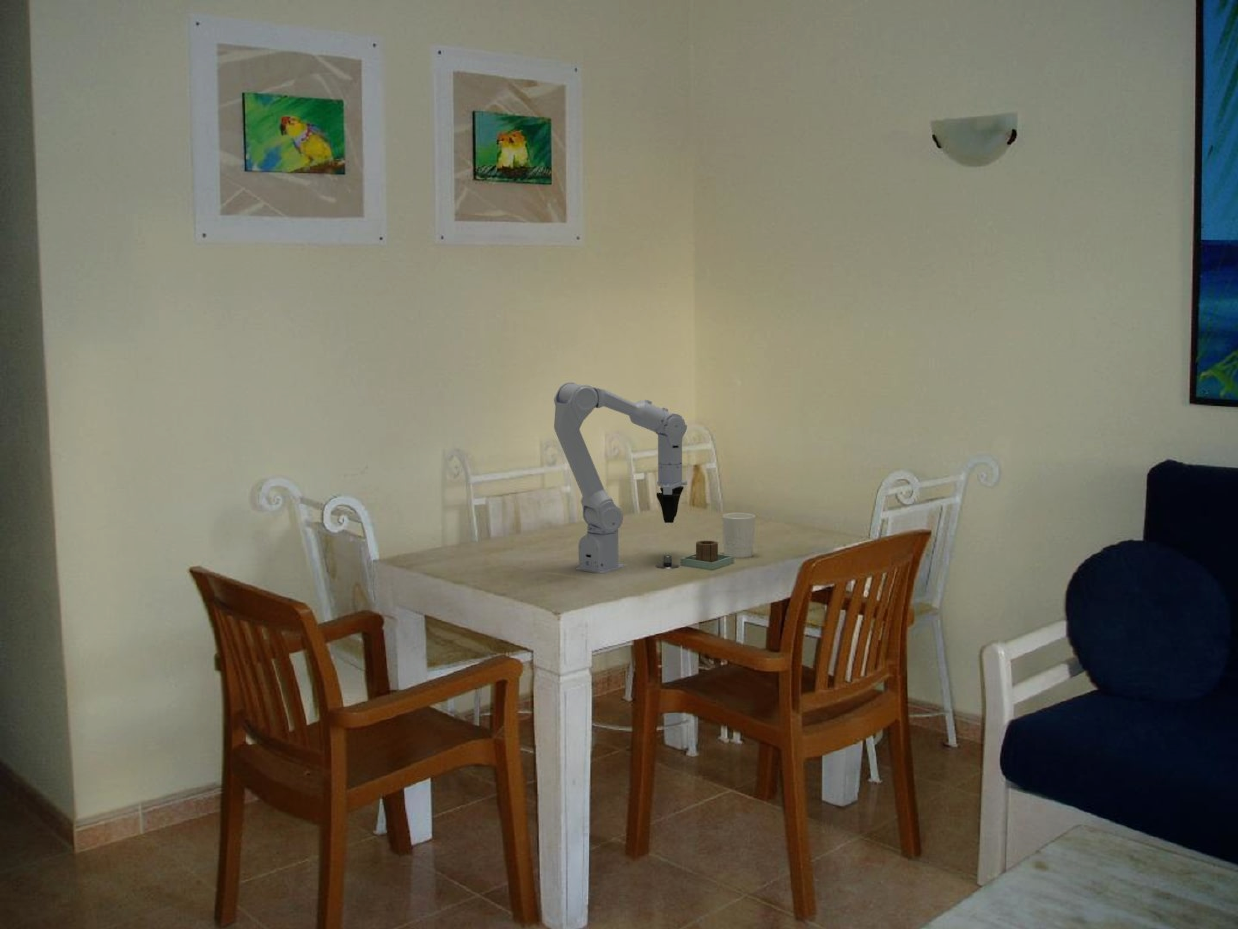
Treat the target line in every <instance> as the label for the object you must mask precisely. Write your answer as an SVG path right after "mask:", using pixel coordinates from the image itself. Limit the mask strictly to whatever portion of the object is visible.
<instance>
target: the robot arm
mask: <svg viewBox="0 0 1238 929" xmlns="http://www.w3.org/2000/svg"><path fill="white" fill-rule="evenodd" d="M553 401H554V403H553V404H554V406H555V407H554V409H555V410H554V420H553V421H554V423H553V424H554V425H553V428H554V432H555V434H556V437H557V439H558V442H559V444H560V446H561V448H562V451H563V453H564V455H565V458H566V460H567V463H568V465H569V467H570V469H571V471H572V473H573V474H572V475H573V477H574V480H575V481H576V483H577V486H578V488H579V491H580V493H581V495H582V497H581V499H580V503H581V508H582V518H583V520H584V522H585V524H587V528H586V529H587V530H586V531H587V532H586V533H585V535H584V536H582V537H581V538H580V540H579V542H578V567H576V568H575V569H576V570H578V571H585V572H591V573H597V574H605V573H609V572H613V571H615V570H618V569H621V568H625V567H627V564H623V563H620V561H619V558H620V556H619V554H620V553H619V529H620V528H621V526H622V524H623V521H624V516H623V511H622V510H621V508H619V507H618V506H617V505H616V504H615V503H614V500H613V498H612V497H611V496H610V494H609V493H608V492H607V491H606V489H605V487H604V485H603V484H602V483H603V482H602V481H601V478H600V475H599V474H598V471H597V469H596V466H595V464H594V461H593V458H592V457H591V454H590V452H589V449H588V447H587V444H586V442H585V440H584V437H583V435H582V433H581V427H582V424H583V422H584V420H586V419H587V417H589V415H590V414H591V413H592V412H593V411H594V410H595V409H600V408H607V409H609V410H612V411H615V412H618V413H621V414H624V415H627V416H629V420H630V422H631V423H632V424H634V425H636V426H638V427H641V428H643V429H646V430H649V431H651V432H654V433H655V434H656V435H657V480H658V481H657V486H658V487H660V488H659V490H660V491H661V492H656V495H655V496H656V498H657V500H658V502H659V505H660V508H661V514H662V519H663V521H664V524H665V523H666V524H667V523H668V524H674V521H675V518H676V516H677V514H678V510H679V502H680V498H681V495H682V493H683V491H684V486H687V485H688V481H687V480H683V437H684V435H686V432H687V428H688V425H687V424H686V422H685V419H684V418H683V416H682V415H680V414H679V413H673V412H670V411H669V409H668V408H666V407H659V406H656V405H653V401H651V400H649V399H644V400H639V401H637V402H634V401H633V402H632V401H630V400H628V399H626V398H623V397H621V396H619V395H616V394H615V393H612V392H611V391H608V390H607V389H604V388H599V387H593V386H591V385H587V384H577V383H575V382H565V383H563V384H562V385H561V386H560V387H559V388H558V390H557V392H556V394H555V396H554V398H553Z"/></svg>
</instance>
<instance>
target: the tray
mask: <svg viewBox="0 0 1238 929" xmlns="http://www.w3.org/2000/svg"><path fill="white" fill-rule="evenodd" d="M692 556H696V553H693V554H691V555H688V556H684V557H681V558H680V566H683V567H689V568H695V569H702V570H709V571H715V570H718V569H721V568H724V567H726V566H729V565H733V564H734V563H735V560H734V559H735V557H734V556H728V555H724V554H721V553H718V561H716V562H713V563H711V562H705V561H698V560H692Z"/></svg>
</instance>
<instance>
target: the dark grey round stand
mask: <svg viewBox="0 0 1238 929" xmlns="http://www.w3.org/2000/svg"><path fill="white" fill-rule="evenodd" d="M672 557H673V556H672V554H663V555H662V562H663V563H659V564H656V565H655V568H658V569H661V570H664V569H665V570H670V569H671V570H672V569H678V568H679V567H680V564H676V563H673V561H672V560H673V559H672Z"/></svg>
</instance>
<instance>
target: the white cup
mask: <svg viewBox="0 0 1238 929" xmlns="http://www.w3.org/2000/svg"><path fill="white" fill-rule="evenodd" d="M721 517H722V518H721V520H722V537H723V551H724V552H723V555H728V556H734V559H736V558H737V559H738V558H739V559H740V558H742V559H743V558H749V557H753V555H754V554H753V553H754V552H753V551H754V550H753V549H754V539H755V538H754V536H755V524H756V523H755V521H756V515H755V514H753V513H748V512H747V513H746V512H729V513H728V512H727V513H724V514H722V516H721Z"/></svg>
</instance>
